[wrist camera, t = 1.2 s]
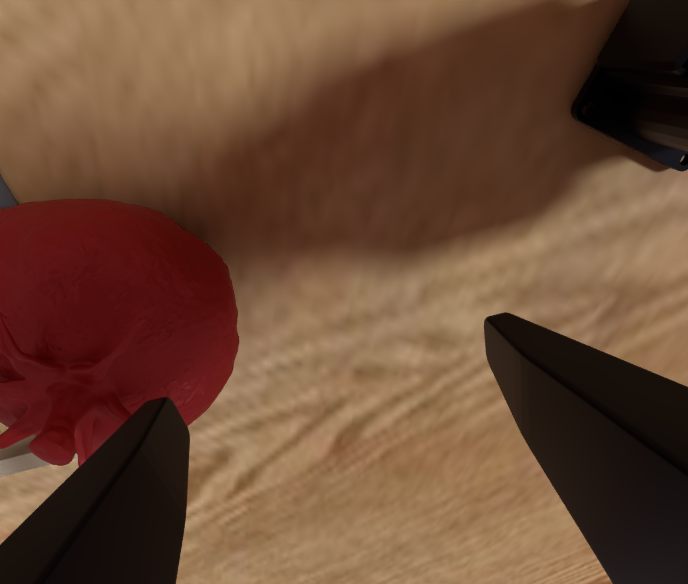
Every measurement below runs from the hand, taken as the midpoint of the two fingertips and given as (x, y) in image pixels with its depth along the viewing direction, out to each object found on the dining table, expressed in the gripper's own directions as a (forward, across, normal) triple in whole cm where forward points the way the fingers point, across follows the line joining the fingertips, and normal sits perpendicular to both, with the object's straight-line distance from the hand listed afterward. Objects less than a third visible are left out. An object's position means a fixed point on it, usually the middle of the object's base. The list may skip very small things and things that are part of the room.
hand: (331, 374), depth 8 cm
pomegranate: (+12, +9, +2) cm, 15 cm away
